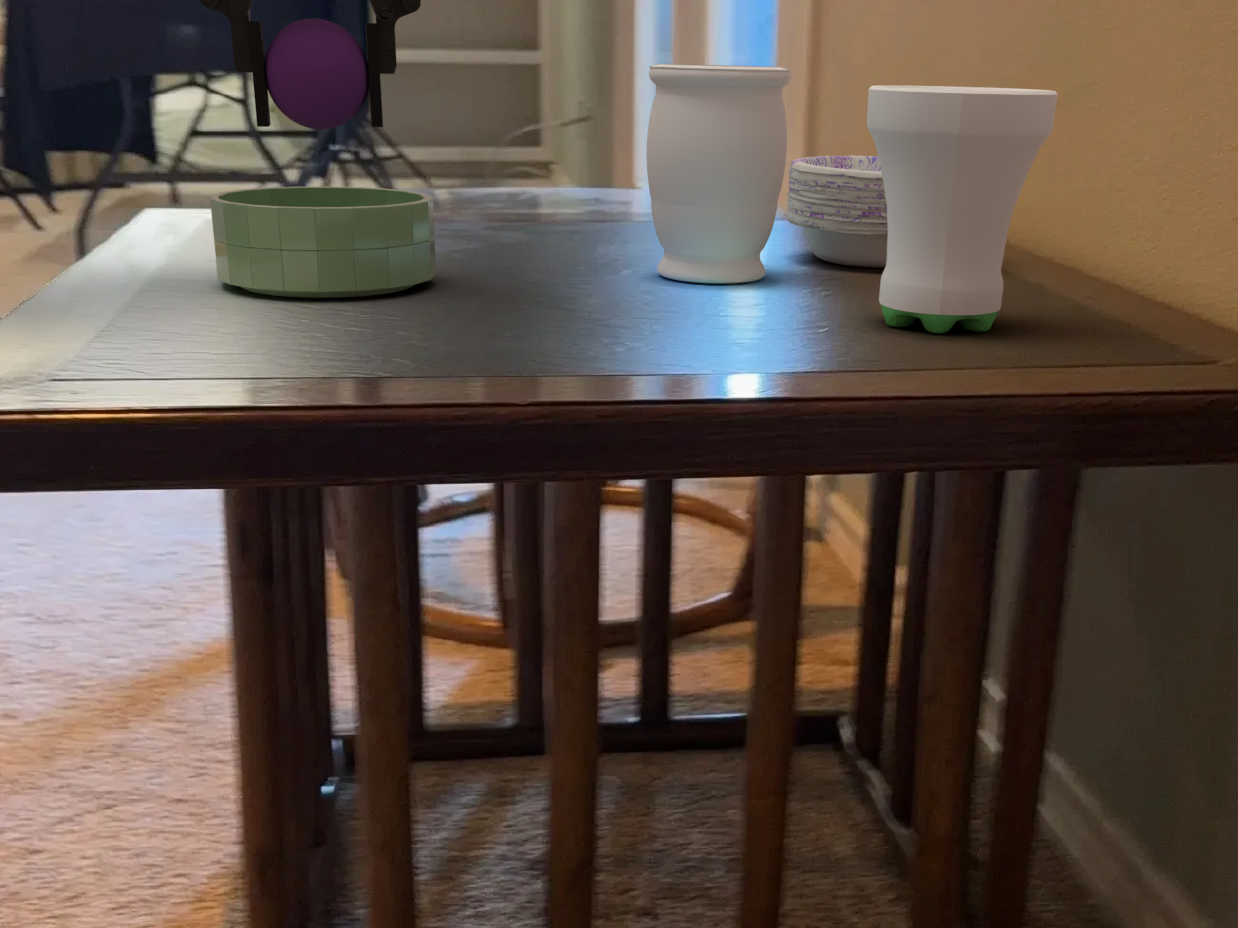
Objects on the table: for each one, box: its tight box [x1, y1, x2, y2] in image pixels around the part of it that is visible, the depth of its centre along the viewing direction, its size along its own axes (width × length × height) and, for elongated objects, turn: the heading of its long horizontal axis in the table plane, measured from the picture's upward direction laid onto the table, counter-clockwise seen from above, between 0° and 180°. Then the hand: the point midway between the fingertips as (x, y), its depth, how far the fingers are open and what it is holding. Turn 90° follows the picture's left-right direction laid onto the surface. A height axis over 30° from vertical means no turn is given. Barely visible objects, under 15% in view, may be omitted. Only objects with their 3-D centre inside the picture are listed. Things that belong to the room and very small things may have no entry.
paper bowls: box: [786, 155, 888, 269], centre depth 115 cm, size 15×15×8 cm
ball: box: [264, 17, 369, 131], centre depth 94 cm, size 7×7×7 cm
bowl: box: [209, 185, 437, 299], centre depth 98 cm, size 15×15×6 cm
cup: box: [866, 84, 1059, 335], centre depth 86 cm, size 11×11×14 cm
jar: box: [646, 63, 792, 285], centre depth 103 cm, size 11×10×15 cm
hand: (320, 125), depth 95 cm, fingers closed on ball, 7 cm apart
